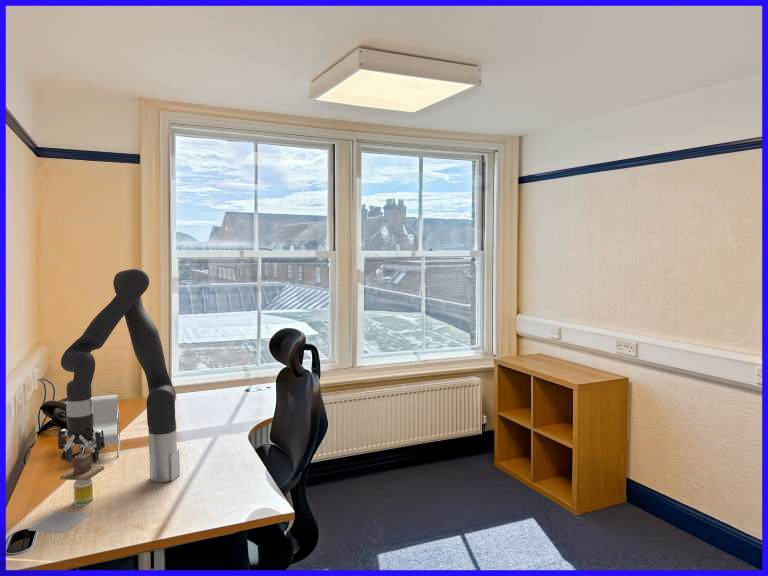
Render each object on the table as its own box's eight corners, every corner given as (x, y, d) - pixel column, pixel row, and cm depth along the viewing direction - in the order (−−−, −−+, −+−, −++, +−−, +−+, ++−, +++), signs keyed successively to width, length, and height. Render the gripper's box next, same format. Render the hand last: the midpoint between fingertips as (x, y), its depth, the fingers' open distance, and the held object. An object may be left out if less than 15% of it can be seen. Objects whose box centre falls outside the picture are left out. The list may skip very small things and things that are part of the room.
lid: (104, 469, 191) (103, 451, 191) (87, 480, 183) (86, 462, 182) (78, 468, 192) (77, 450, 192) (60, 479, 184) (59, 460, 183)
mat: (91, 514, 181) (91, 513, 181) (66, 533, 169) (65, 532, 169) (54, 512, 182) (54, 511, 182) (27, 531, 170) (27, 530, 170)
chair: (120, 438, 249) (118, 393, 247) (118, 458, 226) (116, 409, 224) (84, 442, 244) (83, 396, 242) (79, 464, 221) (77, 413, 219)
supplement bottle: (71, 503, 188) (70, 474, 187) (89, 497, 192) (88, 469, 191) (78, 508, 184) (76, 479, 184) (95, 503, 188) (94, 474, 188)
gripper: (107, 410, 189) (109, 458, 190) (66, 408, 190) (68, 456, 192) (94, 417, 181) (96, 467, 183) (51, 415, 183) (53, 465, 184)
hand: (82, 462), depth 187 cm, fingers open, 8 cm apart
